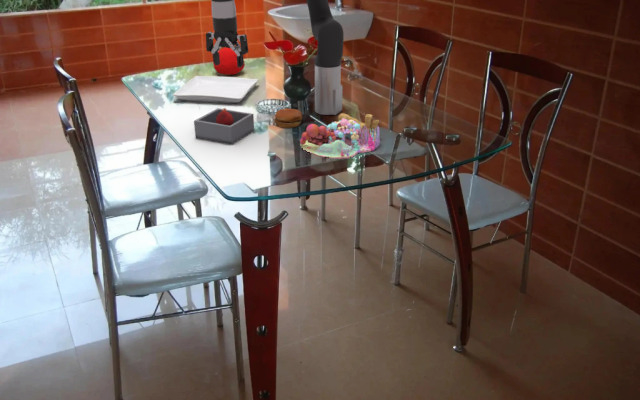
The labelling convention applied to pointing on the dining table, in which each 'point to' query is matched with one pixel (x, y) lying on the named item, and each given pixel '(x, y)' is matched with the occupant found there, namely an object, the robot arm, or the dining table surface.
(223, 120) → the onion
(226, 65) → the tomato
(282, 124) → the burger
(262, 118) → the dining table surface
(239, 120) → the bin
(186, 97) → the square plate
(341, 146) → the candy dessert platter
